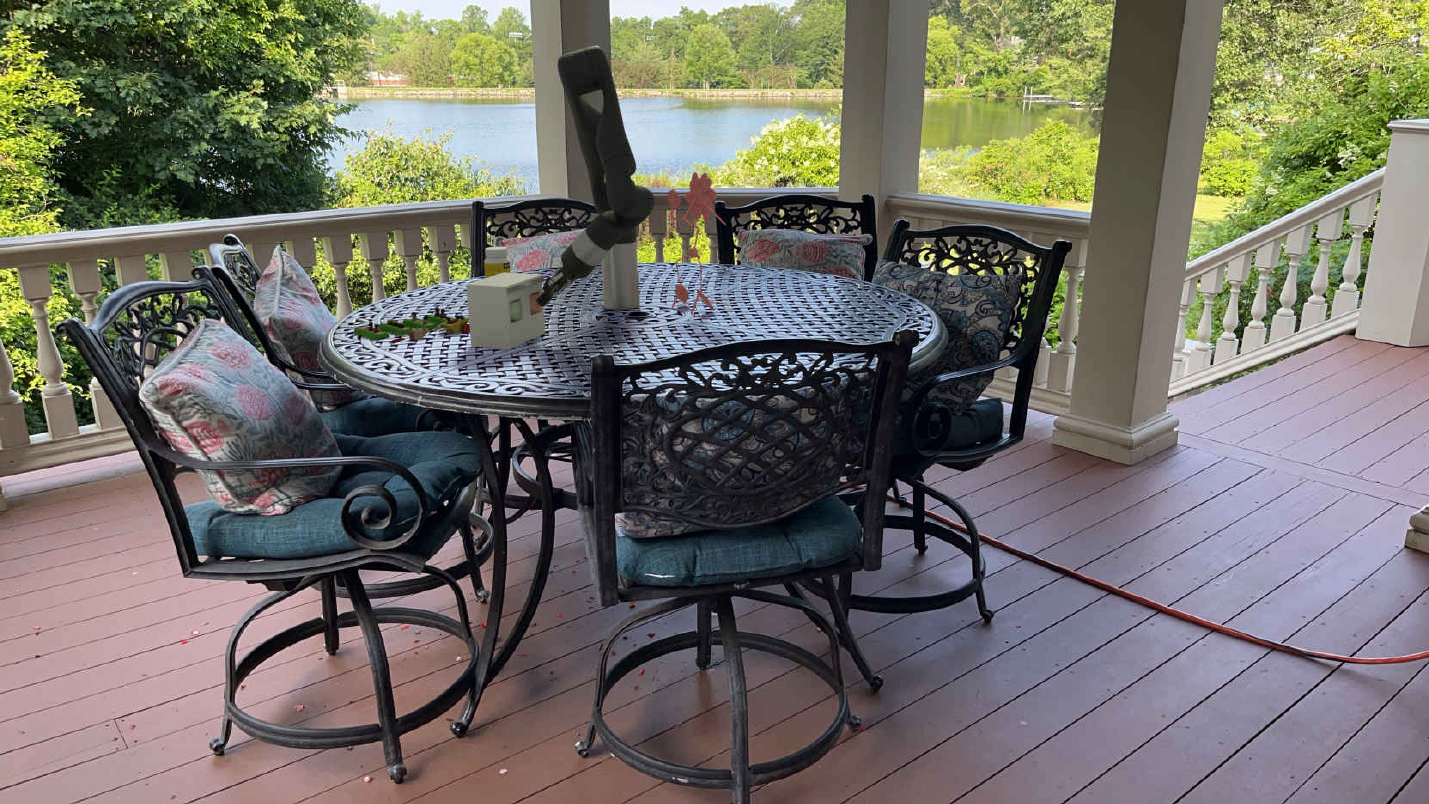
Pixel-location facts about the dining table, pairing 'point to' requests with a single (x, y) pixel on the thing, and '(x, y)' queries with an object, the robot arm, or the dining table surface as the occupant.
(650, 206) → the robot arm
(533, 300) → the terracotta button
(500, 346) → the console
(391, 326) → the toy garden set
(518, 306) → the green button
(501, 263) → the supplement bottle
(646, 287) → the dining table surface
